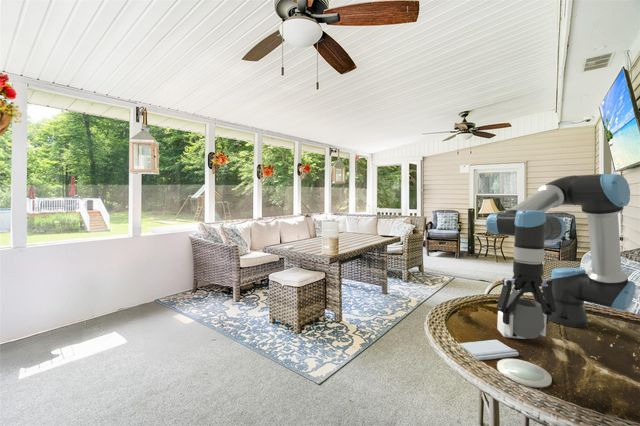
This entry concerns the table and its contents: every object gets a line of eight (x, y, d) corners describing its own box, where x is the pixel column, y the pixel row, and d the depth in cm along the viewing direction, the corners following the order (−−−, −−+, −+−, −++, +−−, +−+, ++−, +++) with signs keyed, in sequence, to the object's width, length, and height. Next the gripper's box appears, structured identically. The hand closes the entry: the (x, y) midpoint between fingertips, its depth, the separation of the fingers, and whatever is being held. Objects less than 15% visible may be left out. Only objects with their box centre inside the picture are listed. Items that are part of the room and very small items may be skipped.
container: (526, 339, 118) (527, 305, 117) (504, 337, 120) (505, 304, 119) (517, 330, 126) (519, 299, 125) (496, 329, 127) (498, 297, 126)
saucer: (529, 361, 102) (529, 357, 102) (564, 387, 88) (564, 383, 88) (487, 361, 102) (487, 358, 102) (515, 387, 88) (516, 384, 88)
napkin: (496, 342, 116) (496, 338, 115) (518, 355, 106) (518, 352, 106) (458, 346, 112) (458, 342, 112) (477, 360, 103) (477, 356, 102)
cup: (530, 344, 88) (531, 310, 88) (499, 331, 97) (501, 299, 96) (550, 338, 92) (552, 305, 92) (519, 326, 101) (521, 296, 100)
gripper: (554, 259, 97) (550, 328, 99) (484, 258, 97) (482, 329, 98) (574, 264, 90) (570, 339, 91) (499, 264, 89) (496, 340, 90)
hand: (524, 334), depth 94 cm, fingers closed on cup, 9 cm apart
